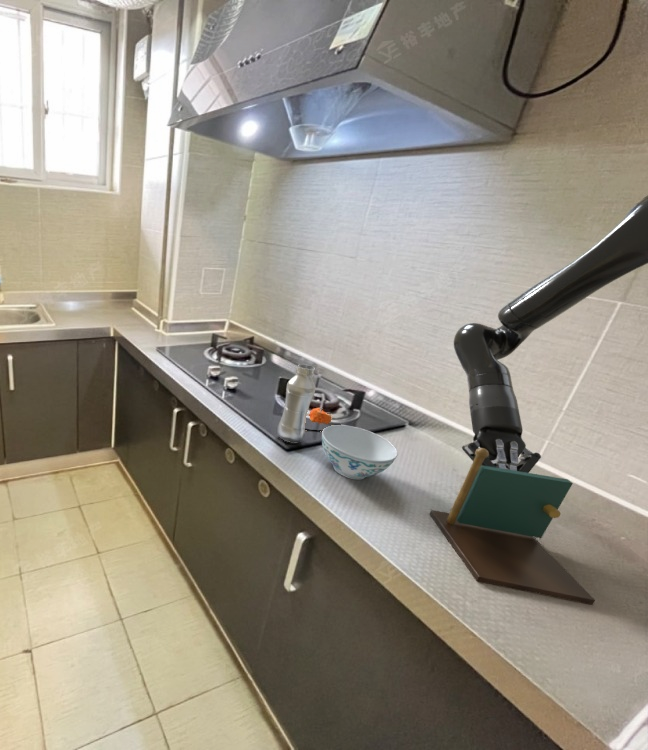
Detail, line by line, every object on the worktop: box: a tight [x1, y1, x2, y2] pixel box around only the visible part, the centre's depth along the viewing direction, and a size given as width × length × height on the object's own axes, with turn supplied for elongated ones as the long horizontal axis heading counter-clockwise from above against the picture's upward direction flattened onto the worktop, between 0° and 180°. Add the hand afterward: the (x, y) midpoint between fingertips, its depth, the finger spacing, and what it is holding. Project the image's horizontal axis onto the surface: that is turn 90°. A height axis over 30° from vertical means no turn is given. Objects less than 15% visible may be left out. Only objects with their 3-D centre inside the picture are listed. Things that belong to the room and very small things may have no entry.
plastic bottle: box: [276, 363, 316, 443], centre depth 96 cm, size 6×7×20 cm
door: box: [456, 465, 573, 539], centre depth 69 cm, size 14×3×12 cm, turn 79°
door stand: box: [429, 448, 596, 606], centre depth 65 cm, size 16×16×17 cm
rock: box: [309, 407, 332, 424], centre depth 110 cm, size 12×12×4 cm
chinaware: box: [321, 424, 398, 480], centre depth 87 cm, size 15×15×8 cm
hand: (507, 497), depth 73 cm, fingers closed
